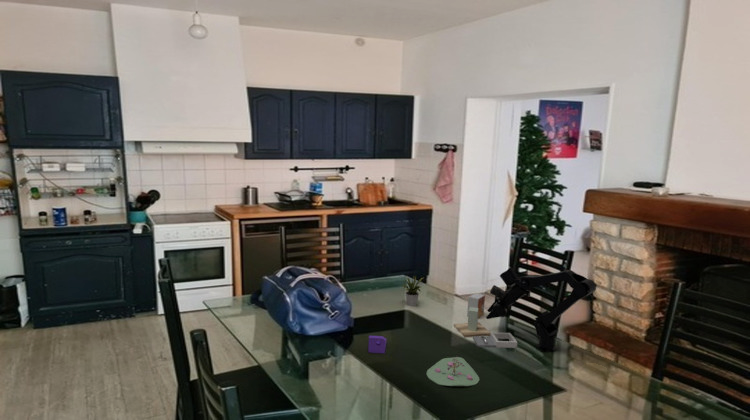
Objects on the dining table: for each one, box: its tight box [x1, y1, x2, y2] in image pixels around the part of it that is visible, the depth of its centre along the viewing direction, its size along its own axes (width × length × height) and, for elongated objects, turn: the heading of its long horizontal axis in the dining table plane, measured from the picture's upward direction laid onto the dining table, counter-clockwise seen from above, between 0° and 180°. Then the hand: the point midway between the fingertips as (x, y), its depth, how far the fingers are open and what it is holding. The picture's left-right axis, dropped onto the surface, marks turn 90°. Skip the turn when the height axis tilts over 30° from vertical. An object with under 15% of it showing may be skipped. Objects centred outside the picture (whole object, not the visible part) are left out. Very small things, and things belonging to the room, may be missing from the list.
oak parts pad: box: [453, 322, 491, 338], centre depth 231 cm, size 13×13×1 cm
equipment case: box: [472, 332, 518, 349], centre depth 218 cm, size 17×10×2 cm, turn 93°
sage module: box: [467, 307, 479, 331], centre depth 230 cm, size 4×5×10 cm
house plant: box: [400, 275, 424, 307], centre depth 261 cm, size 14×14×16 cm
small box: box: [466, 292, 486, 319], centre depth 249 cm, size 8×6×10 cm
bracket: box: [368, 335, 387, 354], centre depth 211 cm, size 12×7×7 cm, turn 176°
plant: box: [426, 355, 480, 387], centre depth 191 cm, size 25×21×9 cm
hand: (487, 314), depth 227 cm, fingers open, 9 cm apart
